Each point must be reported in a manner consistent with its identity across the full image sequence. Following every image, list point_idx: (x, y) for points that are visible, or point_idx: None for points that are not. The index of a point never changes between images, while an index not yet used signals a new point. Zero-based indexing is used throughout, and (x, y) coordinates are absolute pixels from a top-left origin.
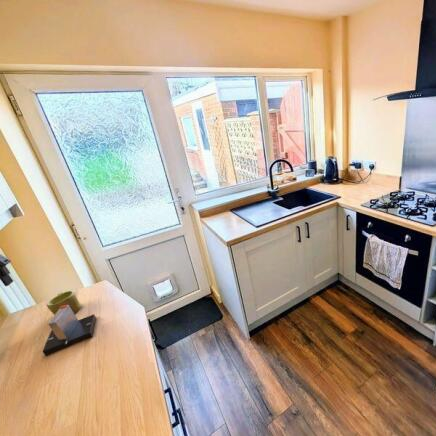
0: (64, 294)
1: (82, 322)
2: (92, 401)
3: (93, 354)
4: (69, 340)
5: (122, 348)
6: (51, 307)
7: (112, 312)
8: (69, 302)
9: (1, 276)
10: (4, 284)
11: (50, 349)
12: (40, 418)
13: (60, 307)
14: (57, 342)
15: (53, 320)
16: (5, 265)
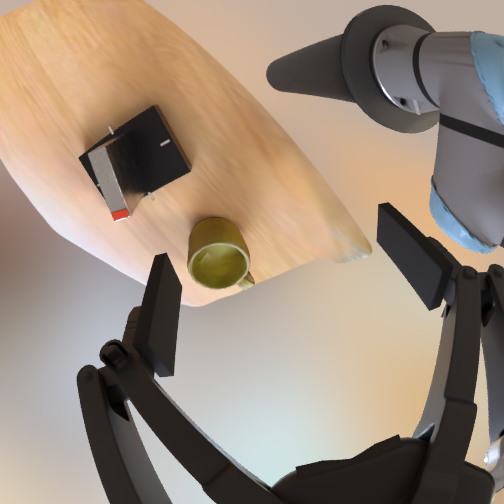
0: (229, 281)
1: None
2: (9, 43)
3: (52, 112)
4: (108, 135)
5: (14, 130)
6: (222, 237)
7: (96, 222)
8: (189, 252)
9: (143, 302)
10: (161, 260)
11: (141, 113)
12: (66, 3)
13: (125, 211)
14: (135, 130)
15: (99, 159)
16: (84, 367)
